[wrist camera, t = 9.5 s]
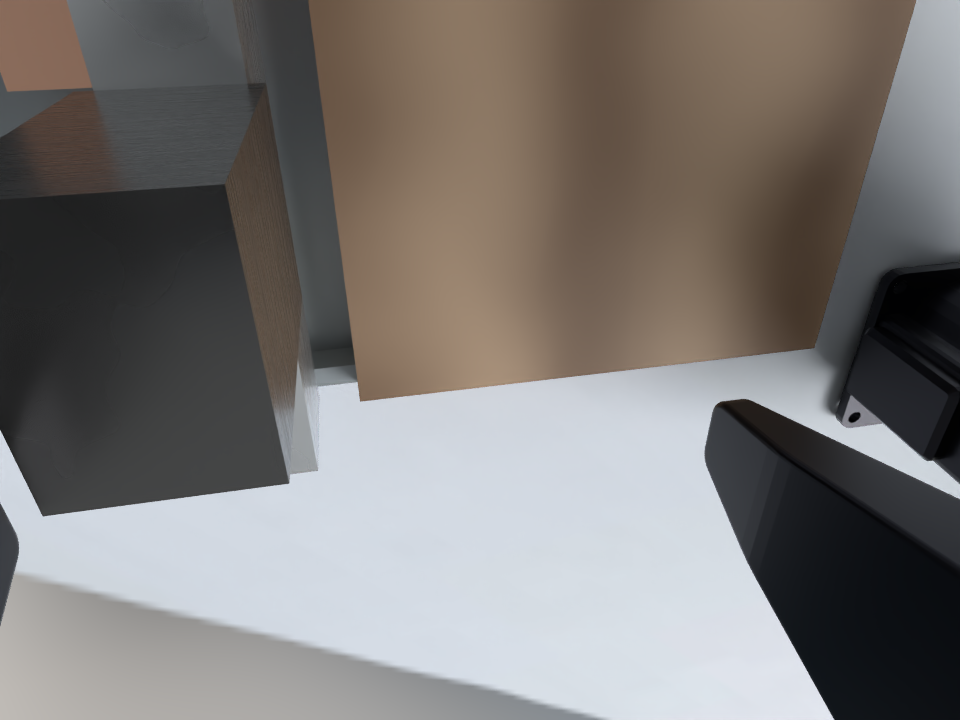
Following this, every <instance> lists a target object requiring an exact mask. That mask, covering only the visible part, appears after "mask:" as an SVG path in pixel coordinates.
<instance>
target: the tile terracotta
mask: <svg viewBox="0 0 960 720" xmlns="http://www.w3.org/2000/svg"><path fill="white" fill-rule="evenodd" d="M0 73H1V75H2V78H3V81H4V84H5V86H6V89H7V92H10V91H32V90H54V89H76V88H92V84H91V81H90V78H89V74H88V71H87V68H86V64H85V61H84V57H83V54H82V51H81V47H80V44H79V41H78V37H77V34H76V31H75V27H74V24H73V21H72V17H71V14H70V11H69V7H68V4H67V0H0Z"/></svg>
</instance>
